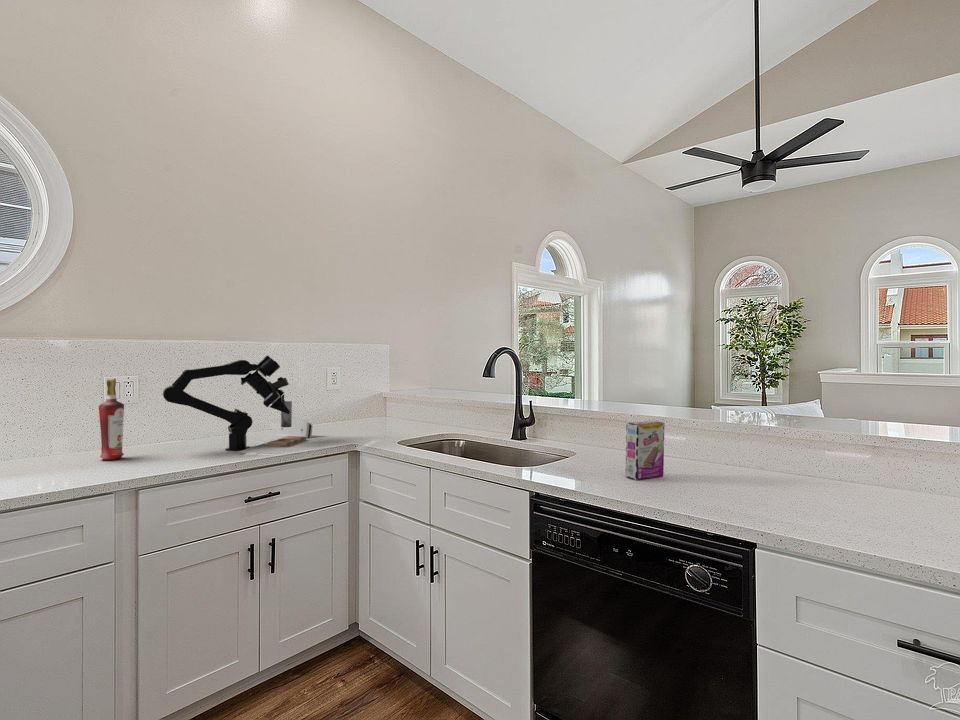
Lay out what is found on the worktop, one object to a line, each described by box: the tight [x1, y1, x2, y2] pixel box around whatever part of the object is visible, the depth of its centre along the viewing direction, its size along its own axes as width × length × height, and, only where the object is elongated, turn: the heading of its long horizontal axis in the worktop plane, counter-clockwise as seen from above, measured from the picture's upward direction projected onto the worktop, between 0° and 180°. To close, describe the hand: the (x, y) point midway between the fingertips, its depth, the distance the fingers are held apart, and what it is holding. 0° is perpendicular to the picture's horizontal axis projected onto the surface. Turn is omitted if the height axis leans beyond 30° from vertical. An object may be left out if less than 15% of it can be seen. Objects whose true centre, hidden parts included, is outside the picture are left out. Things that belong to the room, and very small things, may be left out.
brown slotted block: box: [266, 436, 307, 448], centre depth 210 cm, size 16×8×3 cm, turn 171°
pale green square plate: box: [298, 441, 328, 447], centre depth 209 cm, size 8×8×1 cm
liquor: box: [98, 378, 125, 461], centre depth 184 cm, size 7×7×28 cm
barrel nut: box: [280, 400, 293, 427], centre depth 209 cm, size 4×4×10 cm
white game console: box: [272, 418, 313, 440], centre depth 226 cm, size 17×5×10 cm, turn 69°
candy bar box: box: [625, 420, 665, 481], centre depth 156 cm, size 11×5×16 cm, turn 118°
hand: (290, 412), depth 209 cm, fingers closed on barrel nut, 4 cm apart
